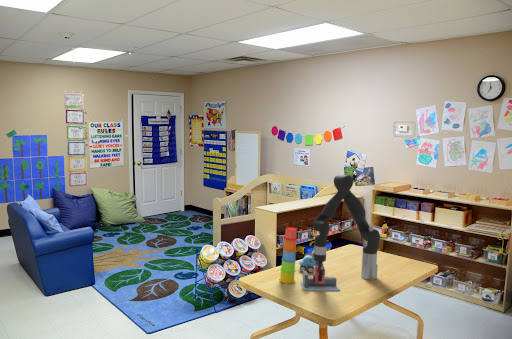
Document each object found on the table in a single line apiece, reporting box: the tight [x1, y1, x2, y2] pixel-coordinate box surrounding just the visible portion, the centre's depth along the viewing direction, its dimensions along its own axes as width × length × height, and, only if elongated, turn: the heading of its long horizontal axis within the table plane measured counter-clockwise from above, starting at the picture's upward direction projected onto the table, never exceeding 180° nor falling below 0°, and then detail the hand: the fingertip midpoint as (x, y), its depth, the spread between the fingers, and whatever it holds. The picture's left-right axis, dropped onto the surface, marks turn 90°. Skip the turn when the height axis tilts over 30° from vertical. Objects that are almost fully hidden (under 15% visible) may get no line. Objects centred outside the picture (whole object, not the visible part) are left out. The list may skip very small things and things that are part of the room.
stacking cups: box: [278, 226, 298, 285], centre depth 251 cm, size 10×10×35 cm
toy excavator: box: [298, 250, 315, 274], centre depth 272 cm, size 9×17×17 cm, turn 78°
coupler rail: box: [302, 270, 337, 288], centre depth 245 cm, size 20×7×8 cm, turn 93°
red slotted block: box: [312, 266, 326, 284], centre depth 244 cm, size 6×6×9 cm
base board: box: [299, 281, 341, 292], centre depth 245 cm, size 22×12×1 cm, turn 93°
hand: (318, 279), depth 244 cm, fingers closed on red slotted block, 6 cm apart
